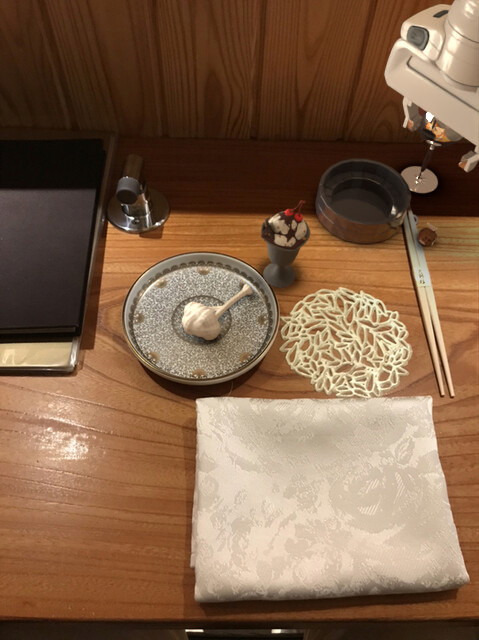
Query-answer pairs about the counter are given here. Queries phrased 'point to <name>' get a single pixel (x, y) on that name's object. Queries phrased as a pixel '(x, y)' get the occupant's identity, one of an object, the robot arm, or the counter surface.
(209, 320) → the garlic bulb
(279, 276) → the sundae
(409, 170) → the wineglass
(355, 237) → the bowl
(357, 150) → the counter surface
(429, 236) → the chocolate
